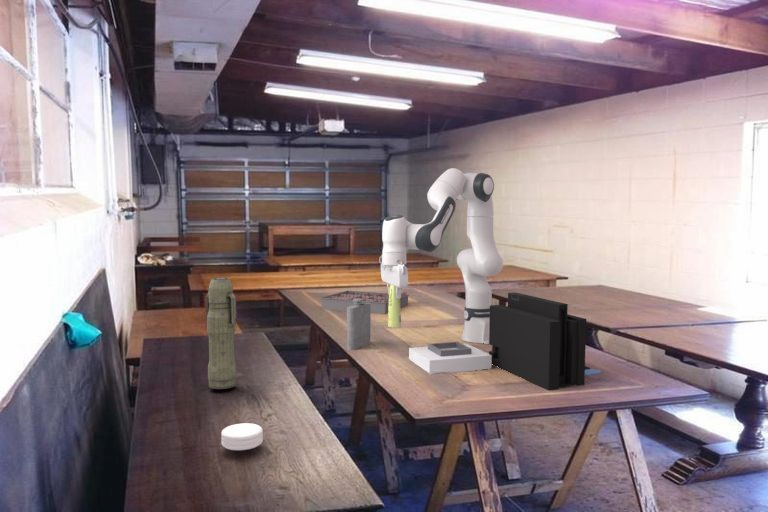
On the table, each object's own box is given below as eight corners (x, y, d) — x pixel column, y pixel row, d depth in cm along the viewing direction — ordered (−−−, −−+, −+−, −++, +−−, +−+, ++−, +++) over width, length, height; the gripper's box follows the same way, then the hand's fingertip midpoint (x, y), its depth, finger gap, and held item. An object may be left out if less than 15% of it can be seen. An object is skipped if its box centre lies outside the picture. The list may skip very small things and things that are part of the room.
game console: (488, 364, 233) (490, 292, 231) (555, 356, 245) (556, 288, 243) (548, 389, 201) (550, 307, 199) (621, 379, 213) (624, 301, 211)
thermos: (216, 379, 211) (214, 275, 209) (245, 383, 207) (243, 277, 204) (198, 386, 203) (196, 278, 200) (228, 390, 199) (226, 280, 196)
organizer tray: (347, 303, 372) (347, 287, 371) (409, 308, 355) (409, 291, 354) (319, 312, 343) (319, 294, 343) (385, 318, 326) (385, 299, 326)
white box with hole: (466, 356, 245) (467, 338, 244) (491, 369, 226) (491, 349, 225) (408, 360, 237) (409, 342, 237) (429, 374, 218) (429, 354, 218)
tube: (383, 326, 234) (383, 274, 232) (392, 324, 238) (392, 273, 236) (395, 328, 231) (395, 275, 229) (404, 326, 234) (404, 274, 233)
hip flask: (352, 351, 252) (352, 302, 250) (343, 350, 254) (343, 301, 252) (371, 344, 266) (371, 297, 264) (363, 343, 268) (363, 296, 266)
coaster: (213, 447, 153) (212, 433, 153) (237, 433, 163) (236, 420, 162) (248, 453, 150) (247, 439, 149) (270, 439, 159) (270, 425, 159)
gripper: (412, 261, 223) (412, 300, 224) (393, 256, 243) (393, 292, 244) (395, 262, 221) (396, 301, 222) (377, 257, 241) (378, 293, 242)
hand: (394, 296), depth 233 cm, fingers closed on tube, 6 cm apart
